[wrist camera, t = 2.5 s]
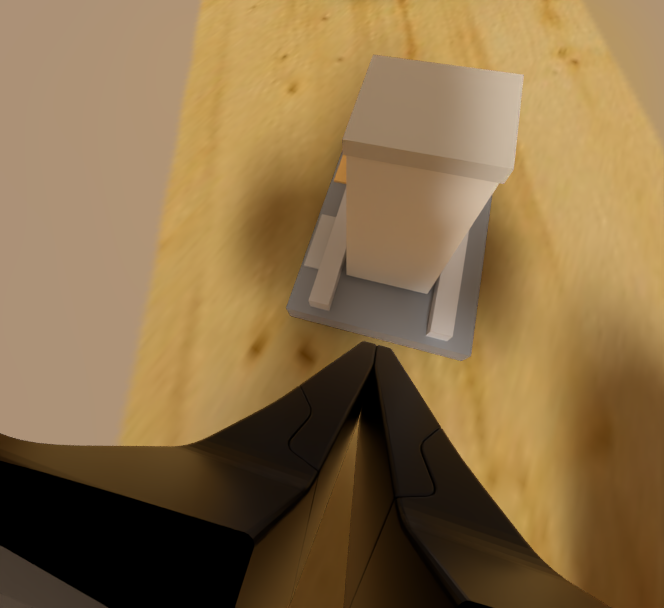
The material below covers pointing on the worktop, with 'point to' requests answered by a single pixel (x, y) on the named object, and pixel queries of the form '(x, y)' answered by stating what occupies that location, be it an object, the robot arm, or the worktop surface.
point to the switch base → (389, 288)
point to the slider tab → (423, 164)
